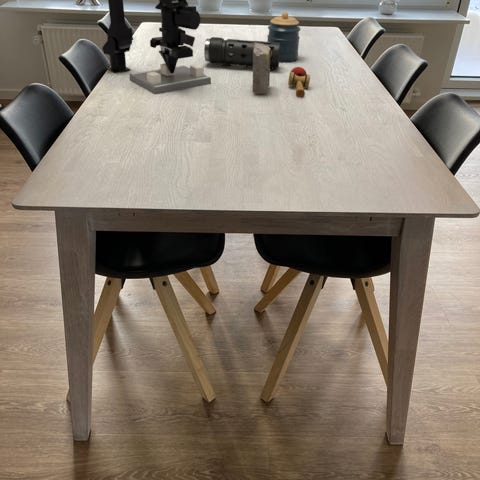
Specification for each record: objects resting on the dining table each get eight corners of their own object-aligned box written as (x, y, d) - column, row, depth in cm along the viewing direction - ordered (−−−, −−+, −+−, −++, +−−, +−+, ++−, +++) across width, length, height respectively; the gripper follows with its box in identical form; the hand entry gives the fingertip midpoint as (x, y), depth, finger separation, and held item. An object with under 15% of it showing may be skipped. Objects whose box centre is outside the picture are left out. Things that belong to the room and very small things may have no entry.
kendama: (313, 102, 174) (309, 78, 187) (312, 84, 169) (308, 61, 183) (290, 105, 175) (287, 81, 188) (288, 87, 170) (286, 64, 184)
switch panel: (129, 79, 182) (128, 65, 179) (183, 70, 194) (183, 56, 191) (155, 94, 170) (154, 78, 168) (210, 83, 182) (210, 69, 179)
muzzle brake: (277, 73, 195) (279, 45, 189) (203, 68, 198) (203, 39, 192) (279, 66, 203) (281, 39, 197) (208, 61, 206) (208, 34, 200)
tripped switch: (160, 72, 182) (160, 63, 181) (168, 71, 184) (167, 62, 182) (166, 75, 180) (166, 66, 178) (174, 74, 181) (173, 64, 179)
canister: (298, 63, 208) (303, 16, 198) (266, 62, 207) (269, 14, 198) (296, 54, 218) (300, 9, 209) (265, 53, 218) (268, 8, 208)
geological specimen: (267, 96, 172) (270, 49, 164) (249, 94, 173) (251, 48, 165) (270, 86, 181) (273, 41, 173) (252, 85, 182) (254, 40, 173)
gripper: (206, 28, 168) (206, 76, 177) (176, 17, 181) (178, 63, 189) (176, 31, 163) (178, 81, 171) (148, 20, 175) (150, 67, 184)
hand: (171, 73), depth 179 cm, fingers closed
